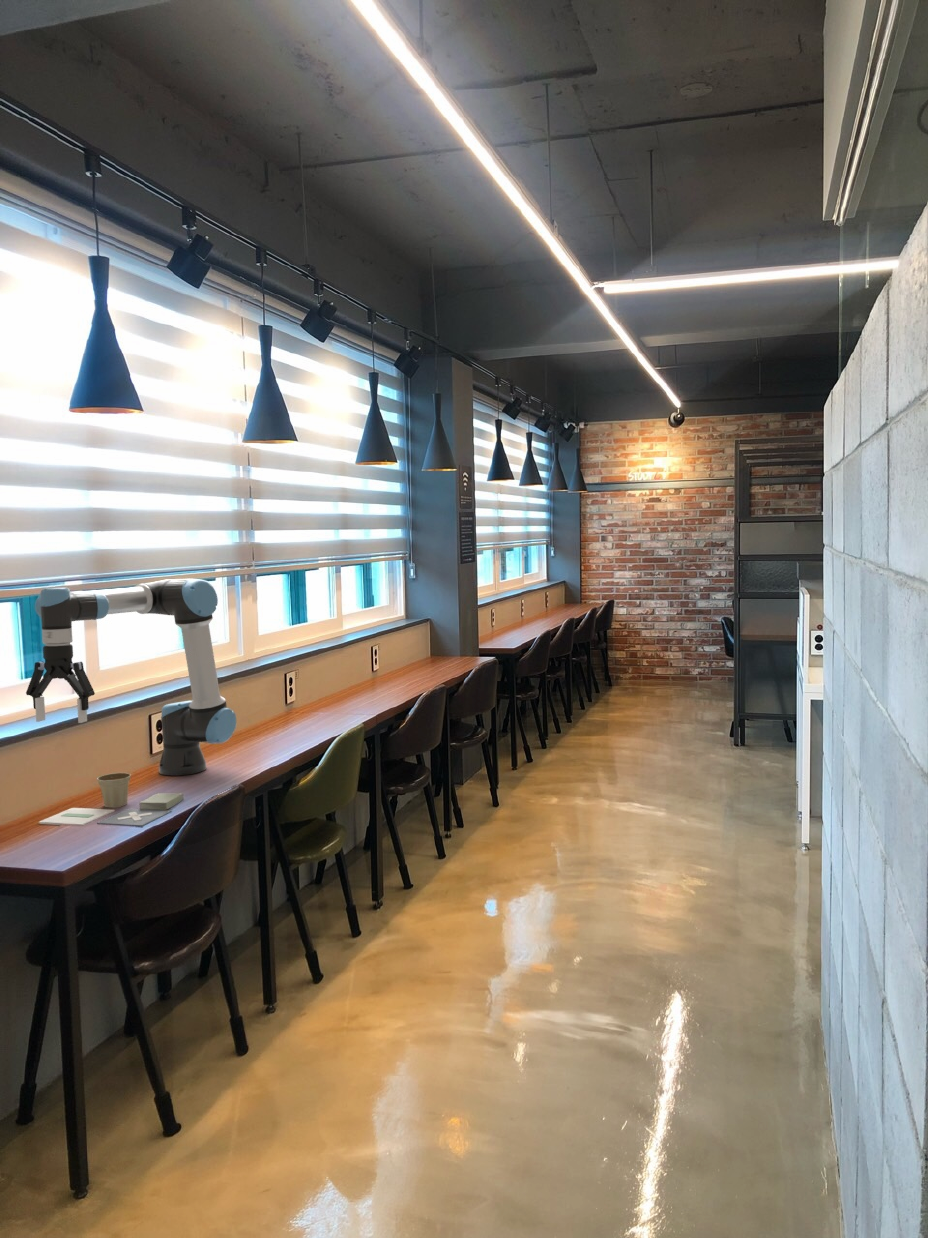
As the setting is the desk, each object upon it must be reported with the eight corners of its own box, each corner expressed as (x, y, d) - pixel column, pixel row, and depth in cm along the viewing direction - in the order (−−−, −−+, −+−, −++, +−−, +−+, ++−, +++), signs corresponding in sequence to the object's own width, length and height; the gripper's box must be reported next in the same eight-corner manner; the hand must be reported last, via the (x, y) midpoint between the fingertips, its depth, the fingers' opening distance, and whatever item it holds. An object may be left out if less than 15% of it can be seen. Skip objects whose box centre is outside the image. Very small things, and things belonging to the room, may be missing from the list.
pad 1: (72, 809, 273) (72, 807, 273) (114, 812, 269) (114, 809, 269) (38, 823, 259) (38, 821, 259) (82, 826, 256) (82, 823, 256)
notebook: (157, 800, 280) (156, 793, 280) (183, 800, 280) (183, 793, 280) (139, 809, 268) (139, 802, 268) (166, 809, 268) (166, 802, 268)
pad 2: (128, 810, 270) (128, 807, 270) (171, 812, 267) (171, 810, 266) (97, 825, 257) (96, 822, 257) (142, 827, 253) (142, 824, 253)
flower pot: (91, 807, 275) (90, 777, 274) (121, 799, 283) (119, 771, 282) (110, 812, 269) (108, 782, 269) (139, 804, 277) (137, 775, 276)
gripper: (9, 645, 259) (13, 722, 260) (87, 645, 252) (91, 725, 253) (29, 642, 266) (33, 718, 267) (105, 643, 259) (109, 720, 260)
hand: (61, 721), depth 260 cm, fingers open, 13 cm apart
